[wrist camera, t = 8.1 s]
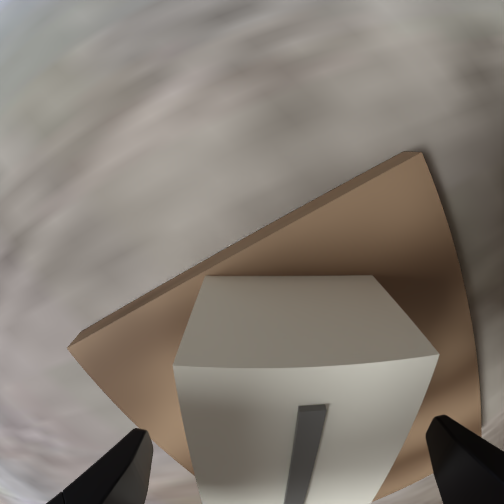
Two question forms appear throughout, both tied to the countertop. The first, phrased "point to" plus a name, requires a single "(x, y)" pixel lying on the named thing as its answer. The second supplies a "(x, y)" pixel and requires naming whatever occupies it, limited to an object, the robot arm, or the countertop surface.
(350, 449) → the white slotted box
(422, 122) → the countertop surface
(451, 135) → the countertop surface
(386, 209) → the base board
